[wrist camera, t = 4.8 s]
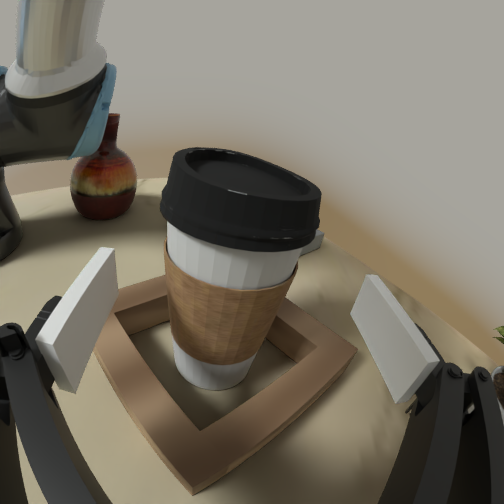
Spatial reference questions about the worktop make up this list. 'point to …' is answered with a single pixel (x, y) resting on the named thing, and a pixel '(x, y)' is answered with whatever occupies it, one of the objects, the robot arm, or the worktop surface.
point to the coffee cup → (230, 256)
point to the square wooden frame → (237, 421)
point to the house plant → (497, 379)
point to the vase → (104, 178)
